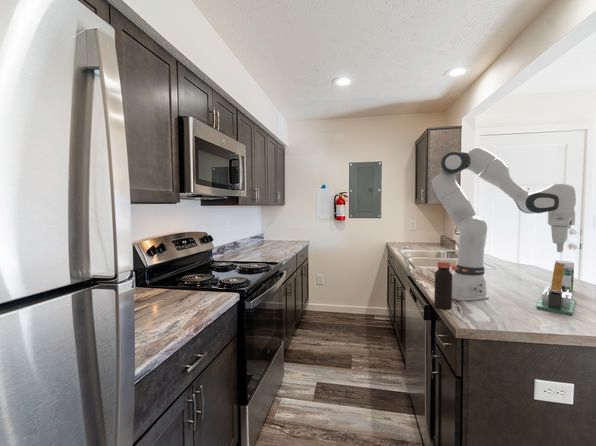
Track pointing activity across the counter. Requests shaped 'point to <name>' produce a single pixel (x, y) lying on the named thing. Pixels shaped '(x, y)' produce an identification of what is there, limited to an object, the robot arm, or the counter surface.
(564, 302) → the heatsink mount
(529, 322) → the counter surface
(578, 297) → the counter surface
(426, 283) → the counter surface
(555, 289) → the strap
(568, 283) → the syrup box
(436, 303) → the bottle
